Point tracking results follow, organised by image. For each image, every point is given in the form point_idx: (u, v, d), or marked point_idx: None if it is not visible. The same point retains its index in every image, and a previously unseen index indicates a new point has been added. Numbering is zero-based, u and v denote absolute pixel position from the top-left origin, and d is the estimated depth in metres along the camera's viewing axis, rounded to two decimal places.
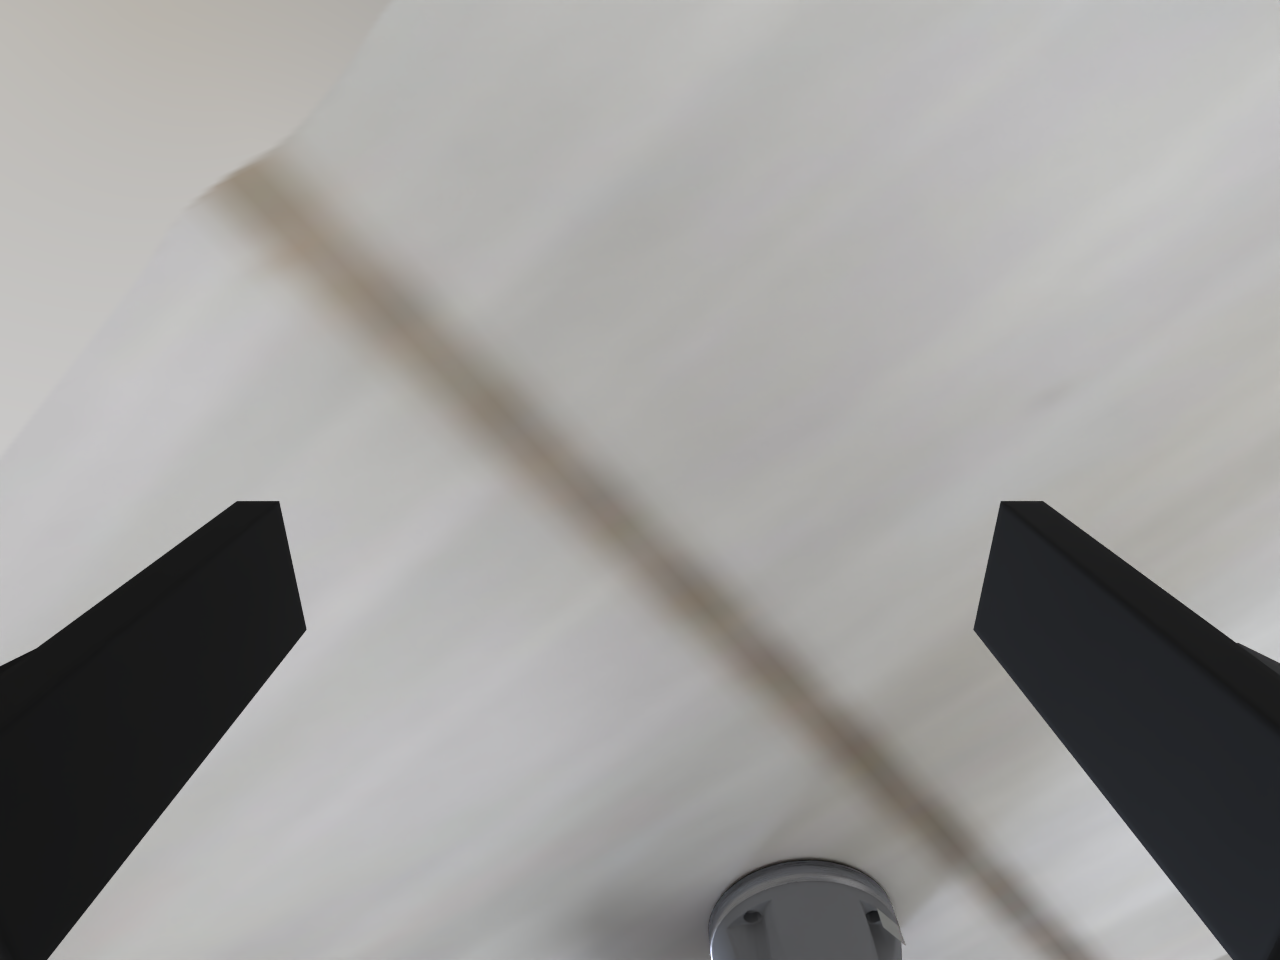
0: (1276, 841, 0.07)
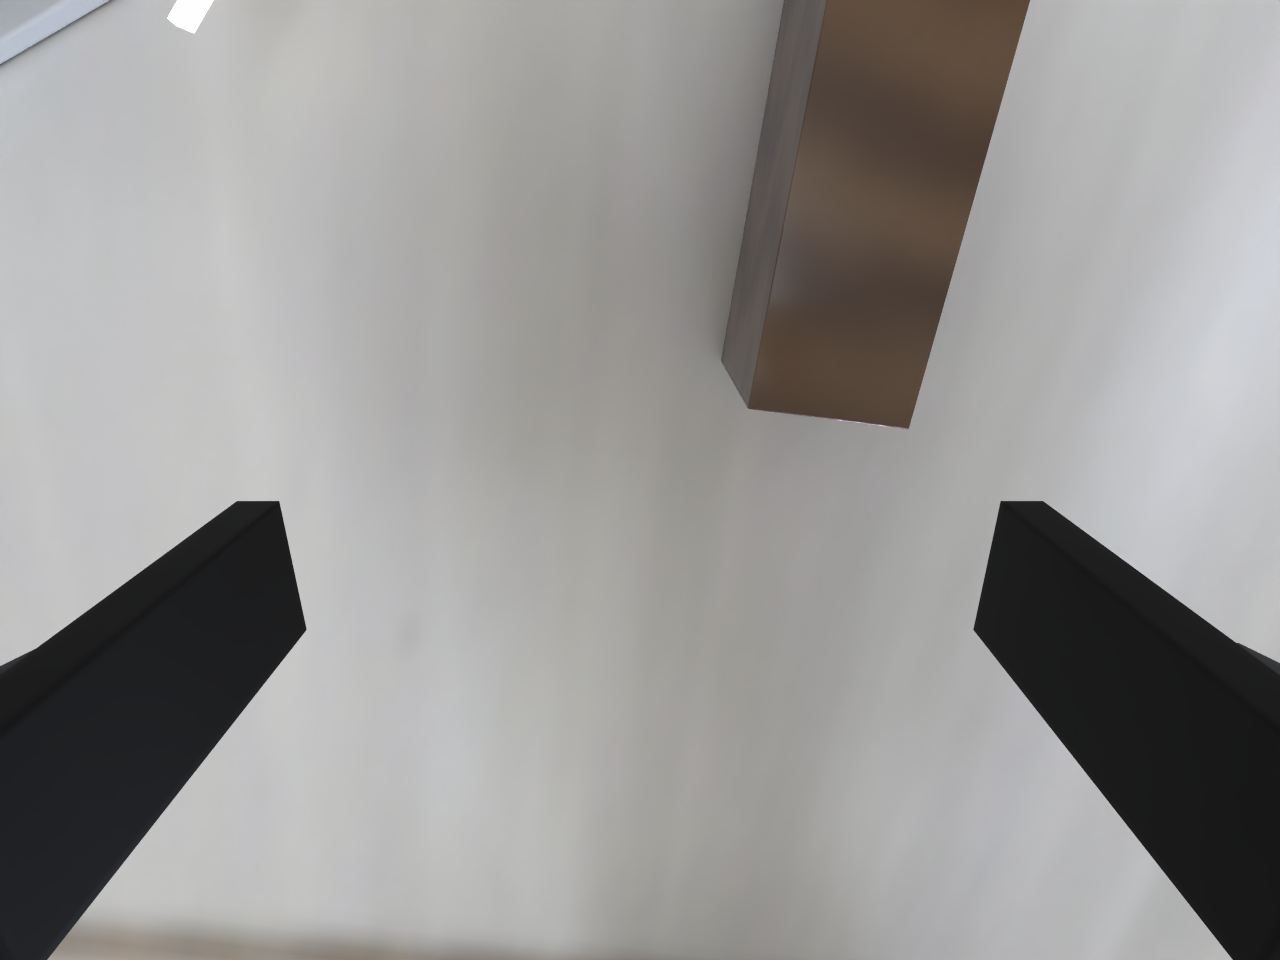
0: (1276, 841, 0.07)
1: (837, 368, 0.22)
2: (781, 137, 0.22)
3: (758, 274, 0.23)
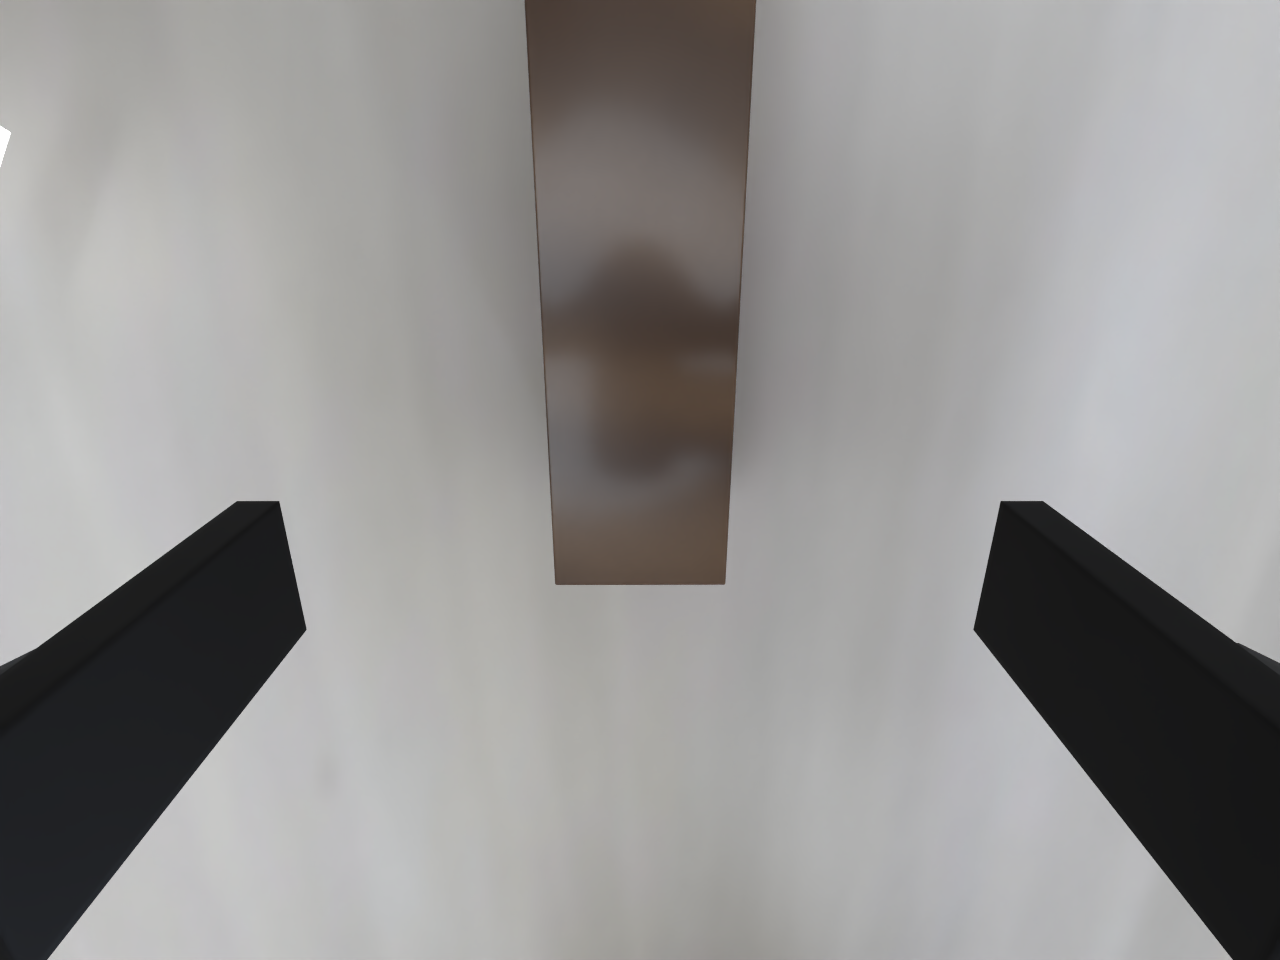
0: (1276, 841, 0.07)
1: (636, 537, 0.21)
2: None
3: None
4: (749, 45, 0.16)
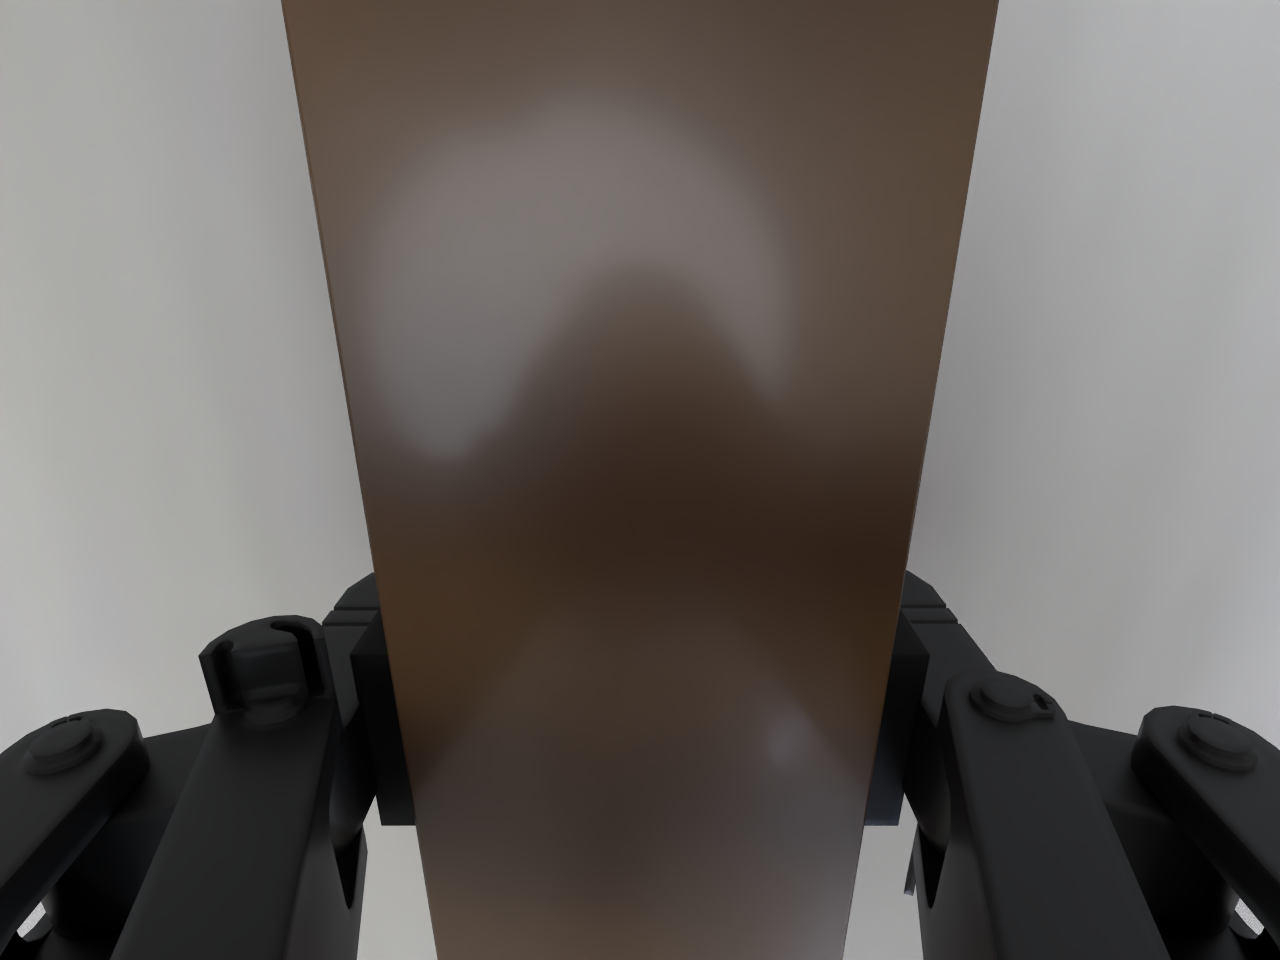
0: None
1: None
2: None
3: None
4: None
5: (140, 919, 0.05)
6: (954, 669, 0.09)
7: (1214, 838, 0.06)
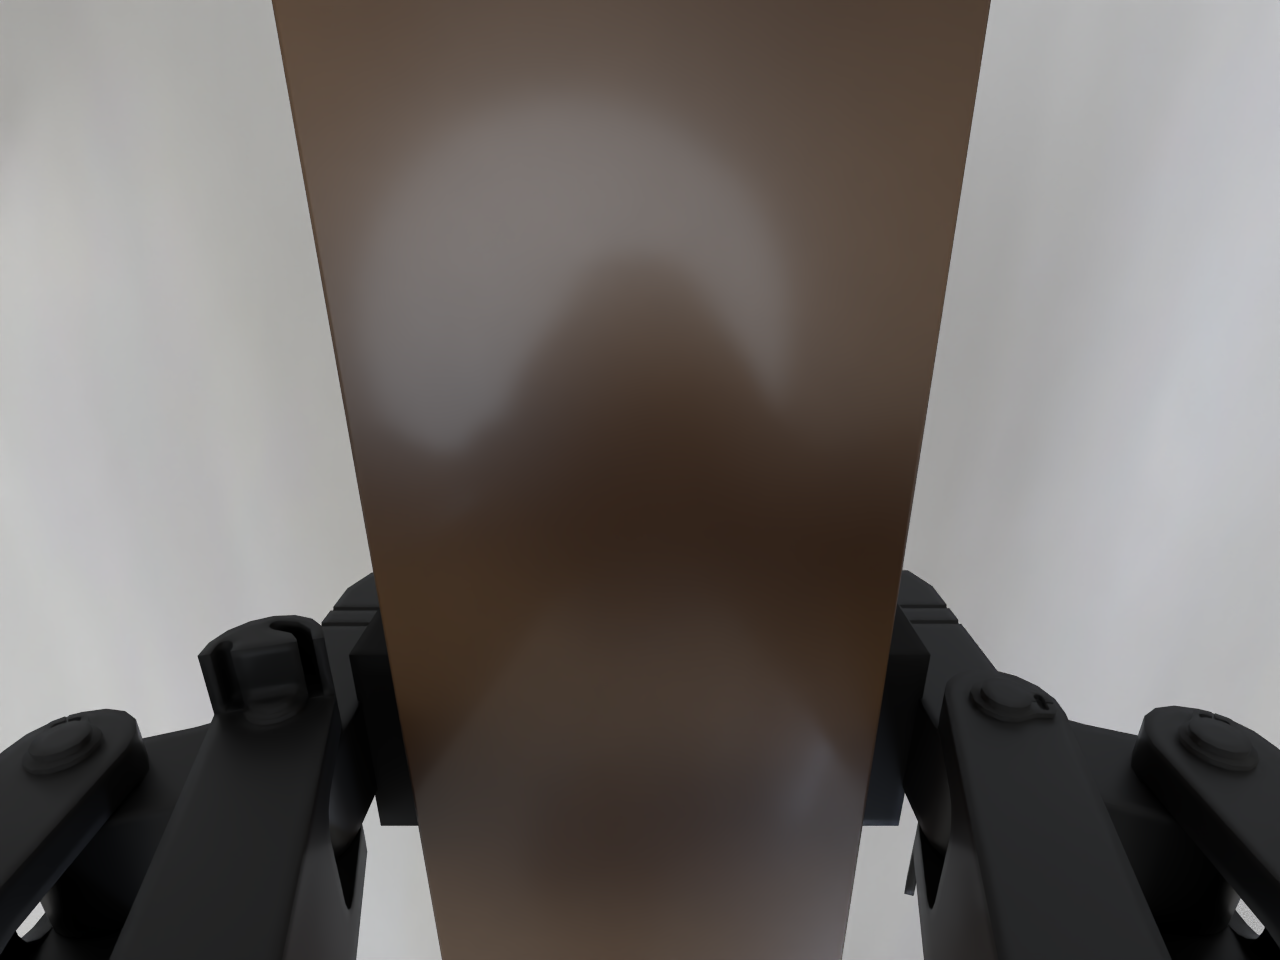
0: None
1: None
2: None
3: None
4: None
5: (139, 919, 0.05)
6: (954, 669, 0.09)
7: (1215, 838, 0.06)
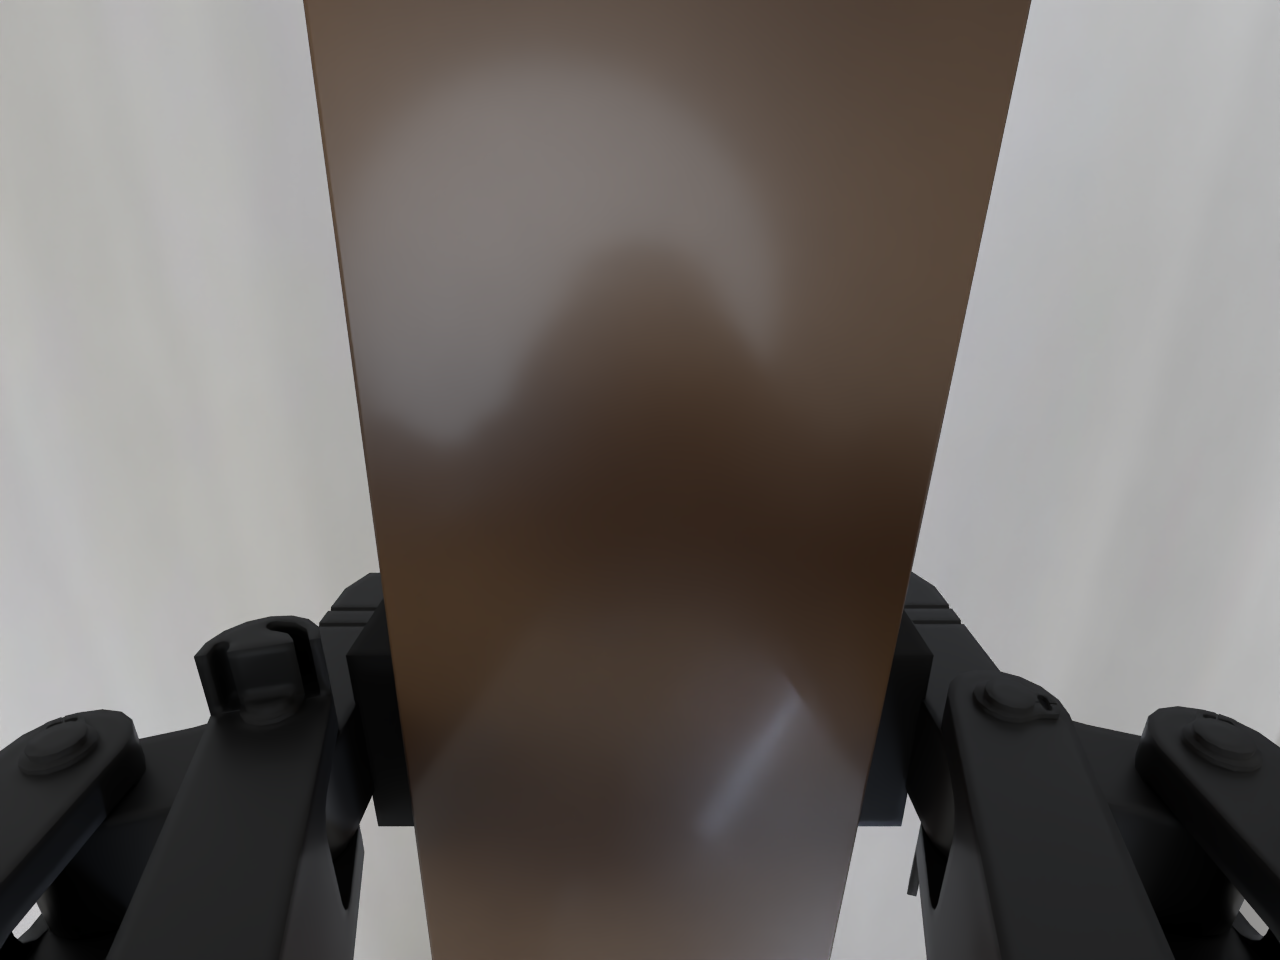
0: None
1: None
2: None
3: None
4: None
5: (136, 920, 0.05)
6: (957, 669, 0.09)
7: (1219, 839, 0.06)
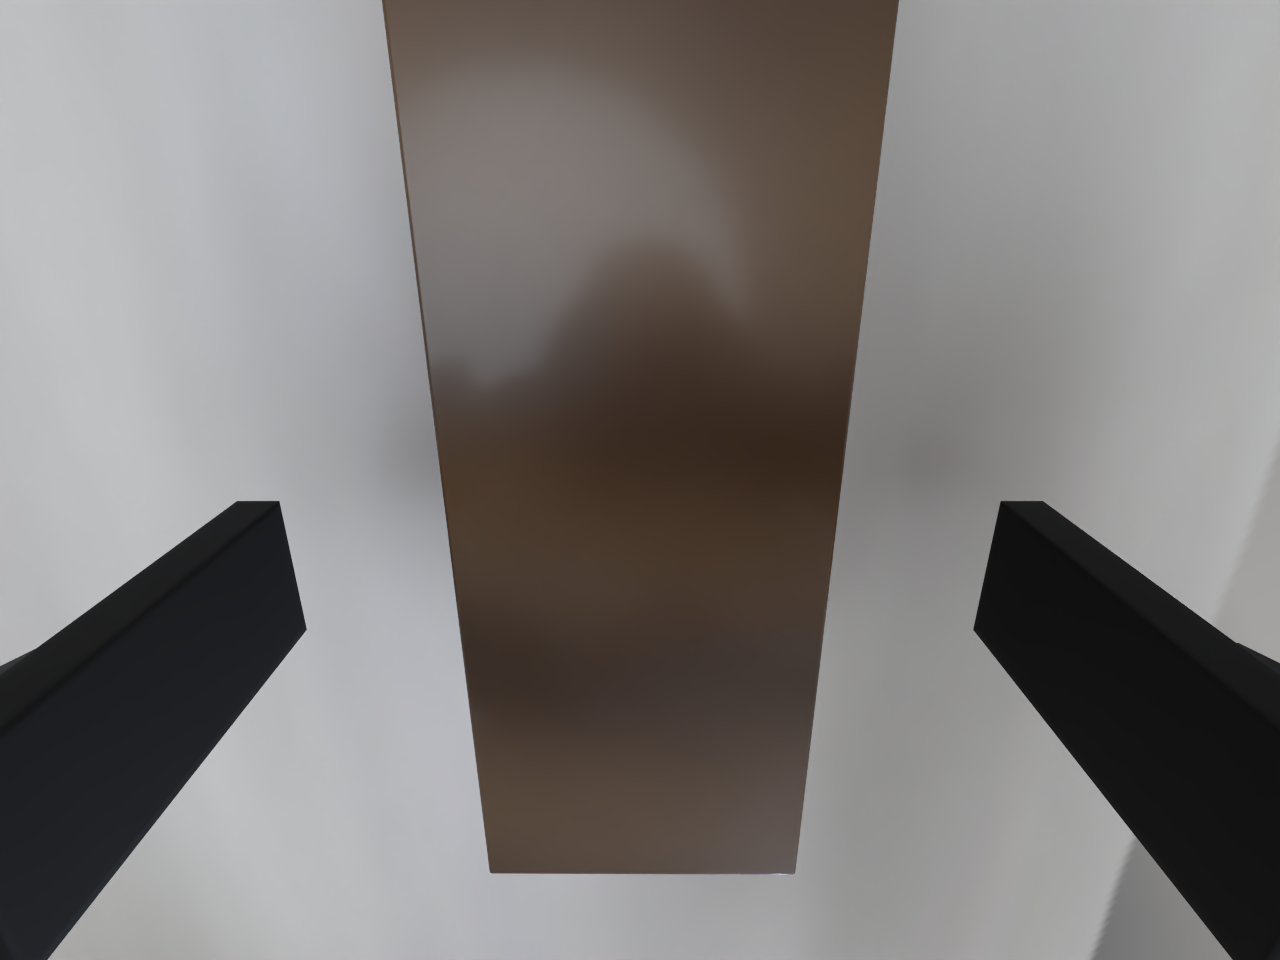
0: (1276, 841, 0.07)
1: (635, 804, 0.11)
2: None
3: None
4: None
5: None
6: None
7: None
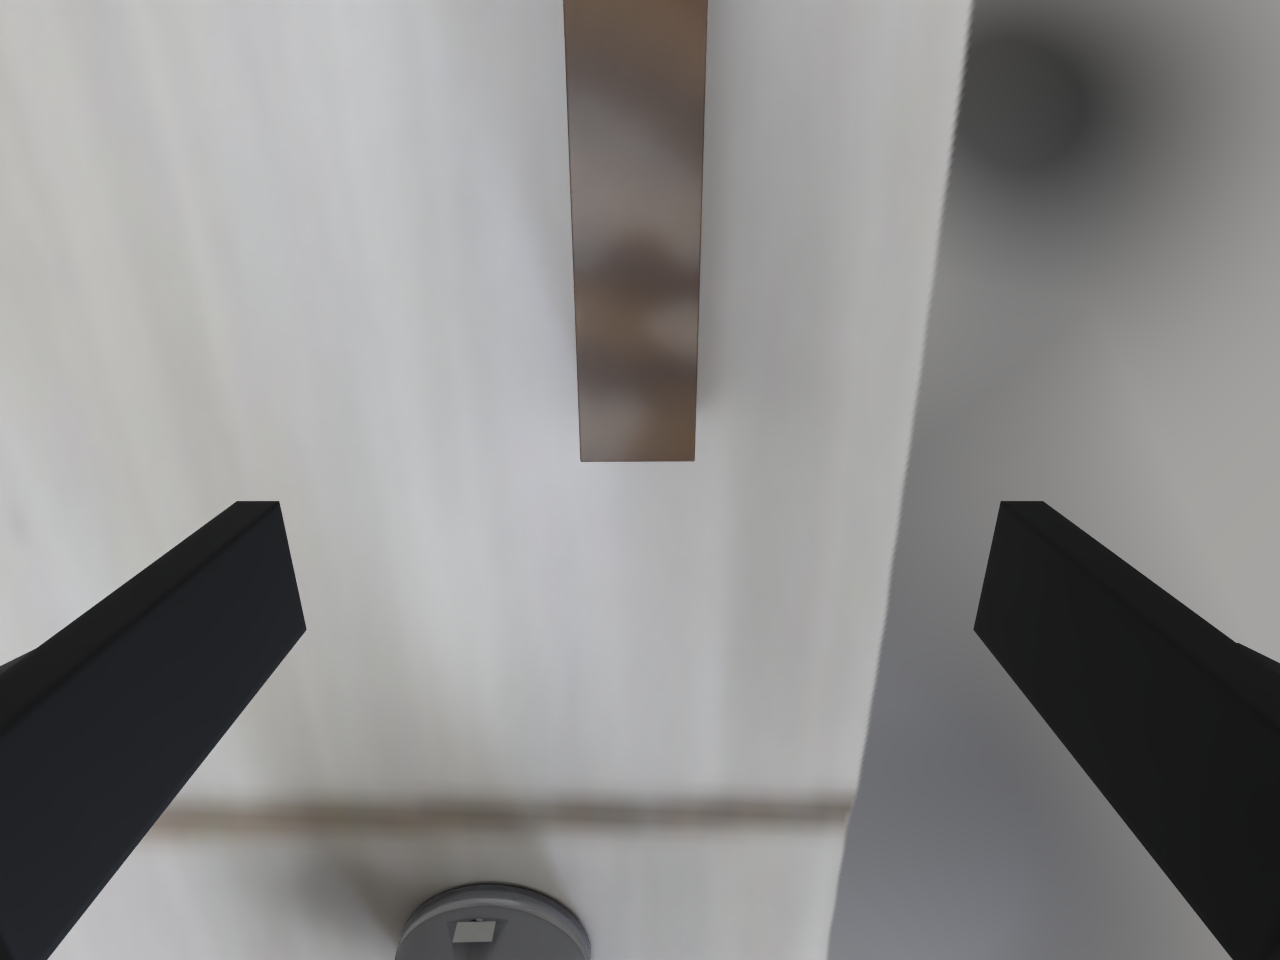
0: (1276, 841, 0.07)
1: (635, 427, 0.31)
2: None
3: None
4: (701, 110, 0.27)
5: None
6: None
7: None
